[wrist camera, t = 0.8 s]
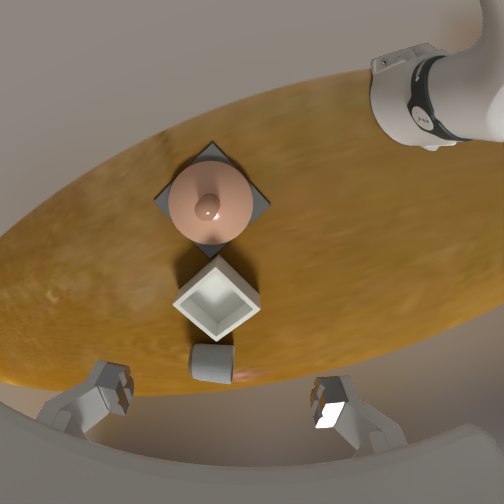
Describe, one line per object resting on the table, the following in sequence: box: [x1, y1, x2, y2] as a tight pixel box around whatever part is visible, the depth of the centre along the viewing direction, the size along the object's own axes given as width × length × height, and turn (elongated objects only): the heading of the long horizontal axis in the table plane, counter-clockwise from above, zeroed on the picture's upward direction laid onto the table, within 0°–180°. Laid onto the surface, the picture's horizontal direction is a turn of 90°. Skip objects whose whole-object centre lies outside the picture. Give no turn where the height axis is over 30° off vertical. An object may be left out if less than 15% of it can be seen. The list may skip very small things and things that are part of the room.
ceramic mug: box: [188, 344, 234, 384], centre depth 50 cm, size 11×8×8 cm
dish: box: [172, 254, 261, 342], centre depth 46 cm, size 10×10×5 cm
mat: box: [154, 143, 271, 258], centre depth 42 cm, size 13×13×1 cm
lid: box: [168, 161, 253, 245], centre depth 40 cm, size 13×13×5 cm
